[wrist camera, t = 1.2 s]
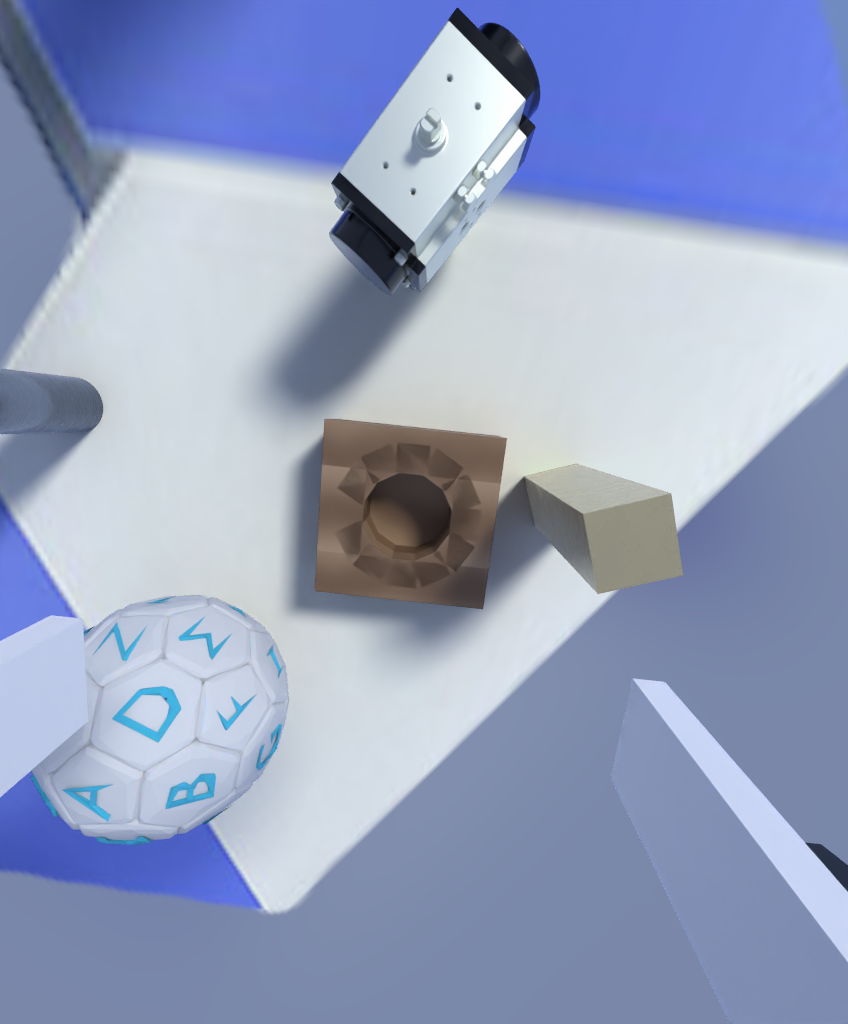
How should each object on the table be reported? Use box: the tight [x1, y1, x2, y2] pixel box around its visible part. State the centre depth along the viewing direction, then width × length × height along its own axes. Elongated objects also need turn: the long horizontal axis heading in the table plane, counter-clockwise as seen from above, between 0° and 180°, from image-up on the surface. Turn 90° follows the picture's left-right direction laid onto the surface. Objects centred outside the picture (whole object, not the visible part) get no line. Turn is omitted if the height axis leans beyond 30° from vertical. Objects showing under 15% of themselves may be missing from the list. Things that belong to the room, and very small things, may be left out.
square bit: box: [524, 464, 683, 594], centre depth 28 cm, size 4×4×14 cm
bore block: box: [315, 419, 507, 609], centre depth 33 cm, size 12×12×4 cm
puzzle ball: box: [31, 595, 289, 845], centre depth 31 cm, size 15×15×15 cm
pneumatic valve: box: [329, 8, 540, 295], centre depth 25 cm, size 6×12×12 cm, turn 139°
